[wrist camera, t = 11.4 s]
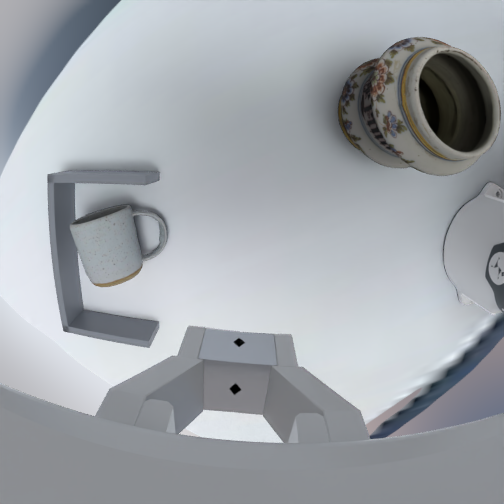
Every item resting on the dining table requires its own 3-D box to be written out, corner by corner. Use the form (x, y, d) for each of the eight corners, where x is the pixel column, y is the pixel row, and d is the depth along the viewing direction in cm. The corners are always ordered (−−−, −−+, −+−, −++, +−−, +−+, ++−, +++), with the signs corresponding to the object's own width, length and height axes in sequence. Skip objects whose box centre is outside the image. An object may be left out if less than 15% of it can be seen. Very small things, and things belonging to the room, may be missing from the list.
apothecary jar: (321, 152, 35) (379, 155, 18) (336, 58, 31) (396, -4, 14) (411, 175, 36) (506, 199, 18) (424, 87, 32) (518, 63, 15)
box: (159, 172, 36) (145, 175, 31) (159, 327, 42) (149, 347, 38) (68, 170, 36) (47, 174, 31) (79, 314, 42) (63, 331, 37)
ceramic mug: (105, 271, 40) (79, 295, 33) (87, 213, 37) (57, 227, 30) (176, 257, 39) (161, 281, 32) (160, 193, 37) (140, 204, 30)
